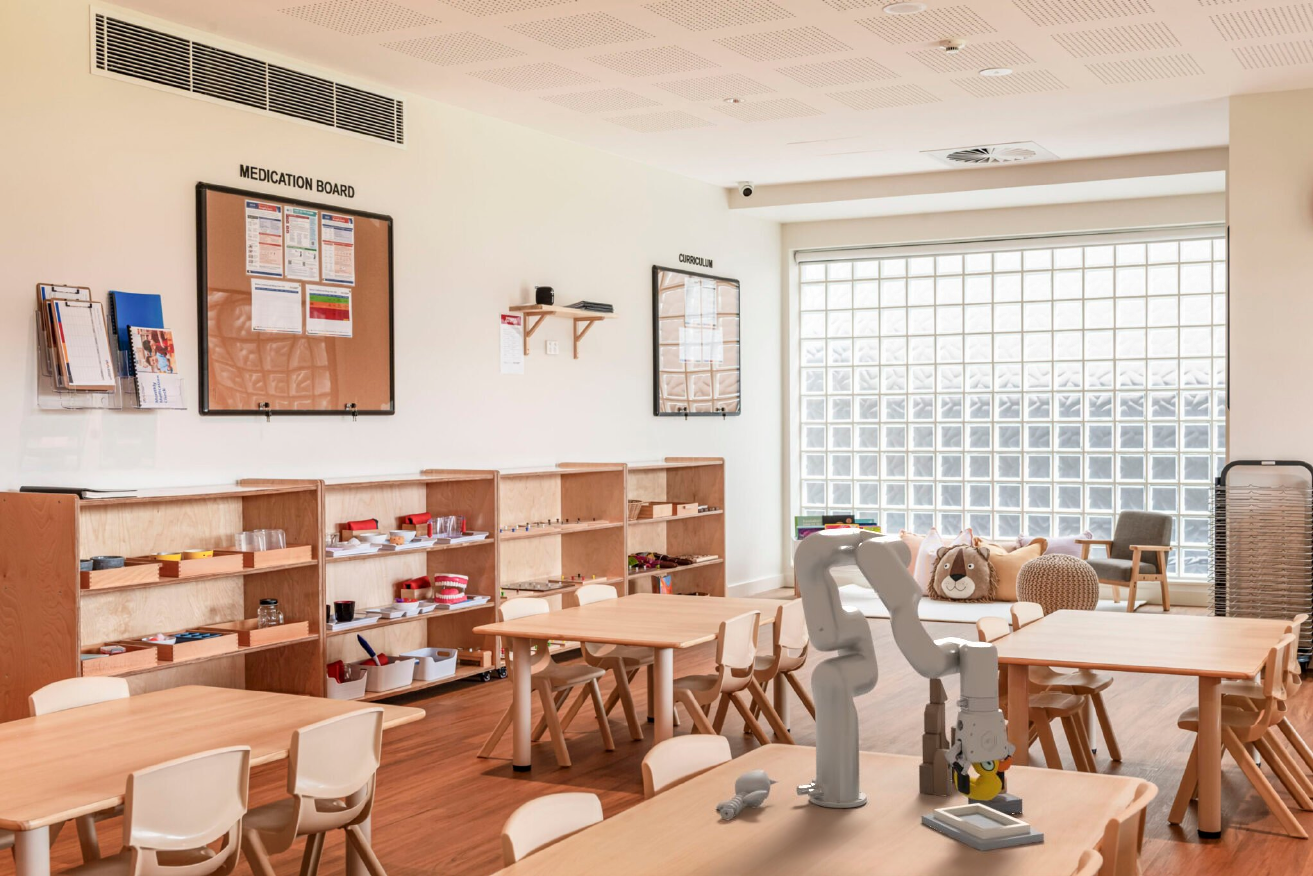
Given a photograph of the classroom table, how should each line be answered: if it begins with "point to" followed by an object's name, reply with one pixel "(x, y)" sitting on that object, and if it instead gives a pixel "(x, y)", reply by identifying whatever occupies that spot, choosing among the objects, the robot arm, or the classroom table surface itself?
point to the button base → (1001, 803)
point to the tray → (981, 826)
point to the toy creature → (747, 793)
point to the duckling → (986, 779)
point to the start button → (1004, 787)
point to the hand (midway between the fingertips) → (981, 790)
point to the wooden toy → (936, 745)
